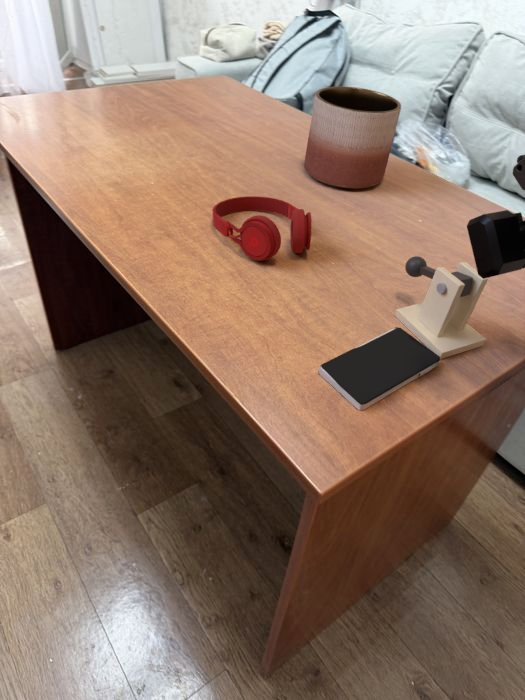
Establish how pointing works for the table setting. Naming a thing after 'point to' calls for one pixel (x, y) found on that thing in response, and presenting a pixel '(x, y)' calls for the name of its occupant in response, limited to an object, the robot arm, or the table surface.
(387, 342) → the smartphone
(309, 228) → the headphones
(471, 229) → the robot arm
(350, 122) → the planter
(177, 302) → the table surface
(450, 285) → the switch unit
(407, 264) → the switch lever
